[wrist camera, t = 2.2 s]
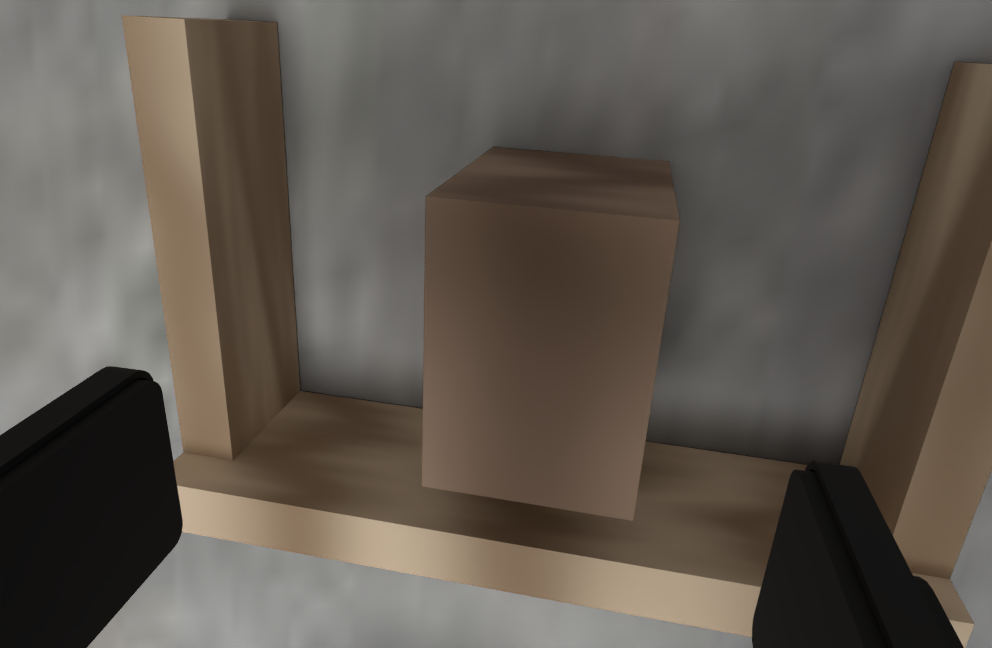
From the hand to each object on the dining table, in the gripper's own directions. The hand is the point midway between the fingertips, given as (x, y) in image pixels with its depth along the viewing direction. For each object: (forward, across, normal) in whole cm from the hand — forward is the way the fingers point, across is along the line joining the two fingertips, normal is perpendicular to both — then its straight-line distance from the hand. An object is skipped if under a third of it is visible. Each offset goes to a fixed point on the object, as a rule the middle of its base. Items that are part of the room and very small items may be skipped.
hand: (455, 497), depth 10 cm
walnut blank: (+12, -1, 0) cm, 12 cm away
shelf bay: (+12, -1, +2) cm, 12 cm away
